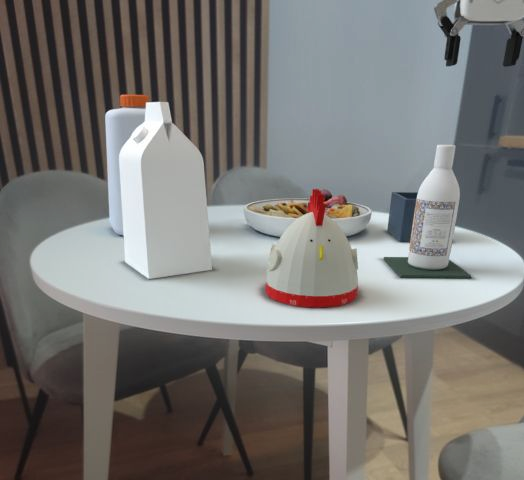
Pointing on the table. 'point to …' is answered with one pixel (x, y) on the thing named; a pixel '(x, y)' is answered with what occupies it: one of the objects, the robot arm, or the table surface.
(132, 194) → the milk
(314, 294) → the kitchen timer
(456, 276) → the mat
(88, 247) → the table surface
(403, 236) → the dark blue open box
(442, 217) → the bath foam
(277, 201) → the bowl
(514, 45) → the robot arm
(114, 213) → the plastic bottle
